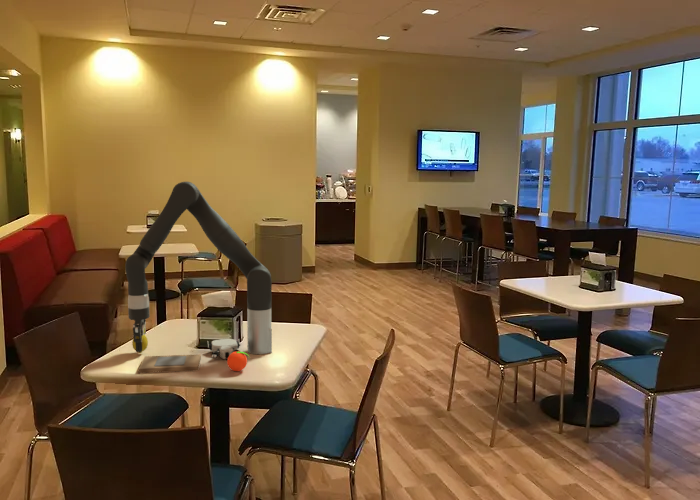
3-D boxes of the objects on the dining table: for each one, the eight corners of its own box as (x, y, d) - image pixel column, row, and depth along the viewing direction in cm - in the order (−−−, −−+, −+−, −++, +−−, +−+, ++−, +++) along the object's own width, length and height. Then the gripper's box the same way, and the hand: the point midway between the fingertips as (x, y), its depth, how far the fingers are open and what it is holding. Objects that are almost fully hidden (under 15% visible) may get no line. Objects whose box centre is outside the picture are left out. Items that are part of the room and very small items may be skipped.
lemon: (143, 355, 223) (142, 335, 222) (129, 354, 224) (129, 334, 223) (150, 351, 228) (150, 331, 227) (137, 350, 230) (137, 330, 228)
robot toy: (244, 362, 222) (238, 347, 236) (244, 350, 222) (238, 336, 236) (210, 364, 219) (207, 349, 233) (210, 353, 218) (207, 338, 232)
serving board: (200, 358, 223) (200, 353, 223) (198, 370, 209) (198, 365, 209) (144, 360, 219) (144, 355, 219) (138, 373, 205) (138, 368, 205)
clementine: (251, 367, 213) (251, 348, 212) (248, 374, 206) (248, 354, 206) (229, 367, 213) (229, 348, 212) (225, 373, 206) (225, 354, 205)
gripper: (146, 310, 218) (147, 354, 220) (151, 301, 232) (153, 343, 234) (124, 310, 216) (126, 355, 218) (131, 302, 230) (133, 344, 232)
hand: (140, 349), depth 226 cm, fingers closed on lemon, 5 cm apart
